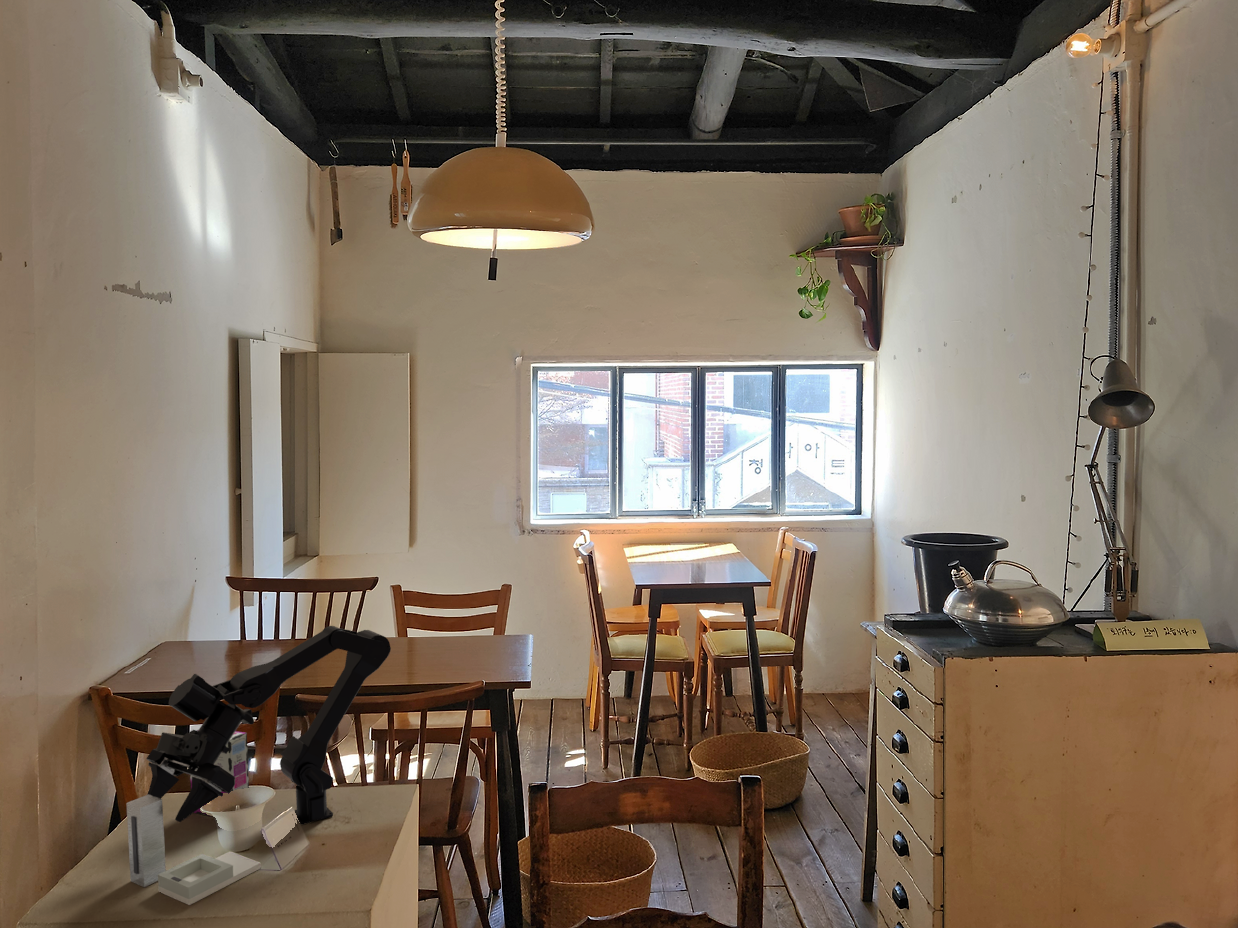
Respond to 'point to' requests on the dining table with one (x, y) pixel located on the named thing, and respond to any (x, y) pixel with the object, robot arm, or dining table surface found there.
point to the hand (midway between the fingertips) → (161, 814)
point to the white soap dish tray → (204, 876)
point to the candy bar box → (233, 762)
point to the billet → (146, 839)
